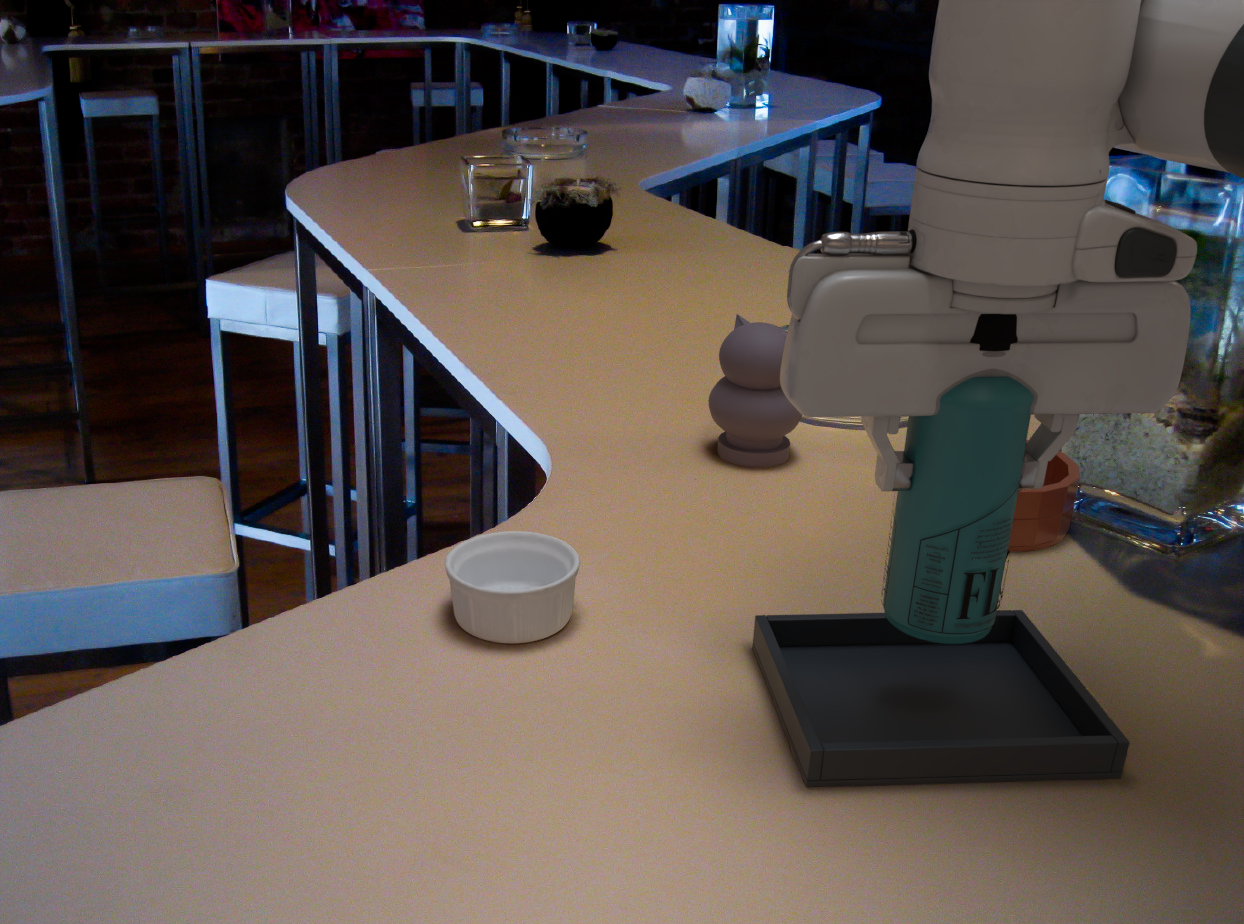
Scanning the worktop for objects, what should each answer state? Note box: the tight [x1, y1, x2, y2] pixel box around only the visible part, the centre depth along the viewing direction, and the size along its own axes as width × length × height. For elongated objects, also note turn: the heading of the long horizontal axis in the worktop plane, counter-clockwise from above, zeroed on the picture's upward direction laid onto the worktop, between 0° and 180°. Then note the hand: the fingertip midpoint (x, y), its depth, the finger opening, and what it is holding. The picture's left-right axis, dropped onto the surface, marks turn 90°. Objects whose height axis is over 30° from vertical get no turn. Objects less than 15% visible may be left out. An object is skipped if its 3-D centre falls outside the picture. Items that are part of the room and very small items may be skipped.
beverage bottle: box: [880, 314, 1034, 644], centre depth 66 cm, size 6×7×20 cm
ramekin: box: [444, 530, 581, 644], centre depth 81 cm, size 9×9×4 cm
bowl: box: [1008, 439, 1081, 553], centre depth 95 cm, size 12×12×5 cm
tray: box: [751, 609, 1131, 789], centre depth 72 cm, size 17×14×2 cm
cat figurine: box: [708, 313, 803, 468], centre depth 106 cm, size 8×8×12 cm
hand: (958, 486), depth 66 cm, fingers closed on beverage bottle, 6 cm apart
